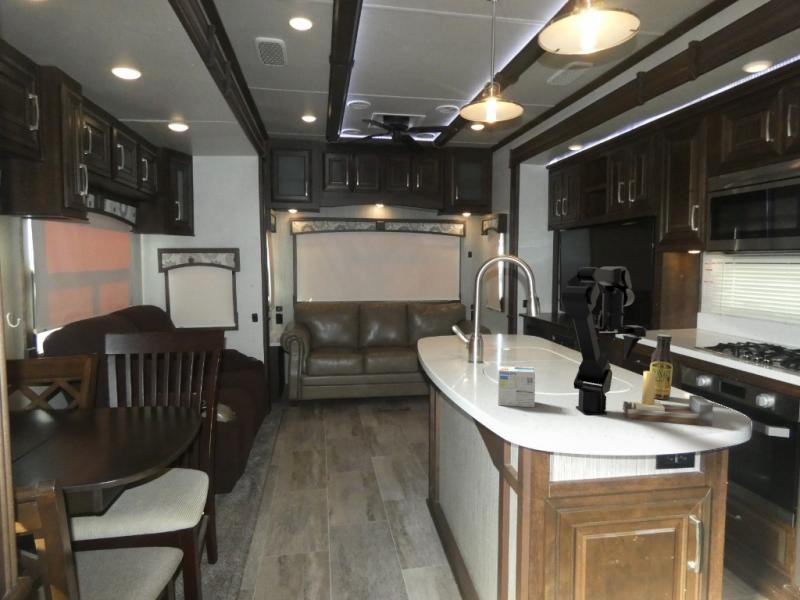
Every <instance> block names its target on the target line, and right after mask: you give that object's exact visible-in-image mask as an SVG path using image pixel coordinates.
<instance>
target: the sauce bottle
mask: <svg viewBox="0 0 800 600" xmlns="http://www.w3.org/2000/svg"><path fill="white" fill-rule="evenodd" d="M671 342H672V335H670V334H657V335H656V348H655V349H654V351H653V352H652V353H651V359H650V360H651V361H650V364H649V371H652V372H655V373H656V374H655V396H654V400H655V399H657V400H668V399H670V397H671V393H672V381H673V372H674V371H673V370H674V369H673V367H674V365H673V364H674V355H673V354H672V351H671Z"/></svg>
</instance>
